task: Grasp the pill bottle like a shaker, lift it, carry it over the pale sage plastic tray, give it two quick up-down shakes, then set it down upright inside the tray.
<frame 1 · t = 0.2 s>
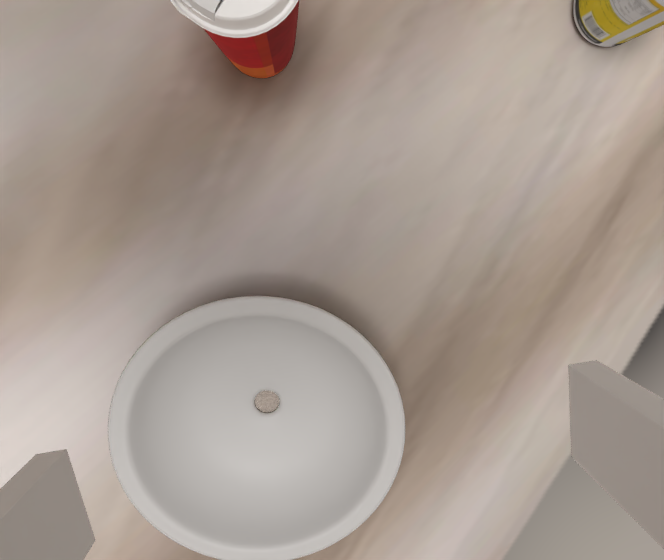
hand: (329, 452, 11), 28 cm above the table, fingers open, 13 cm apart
paper cup: (259, 43, 34), on the table
pill bottle: (604, 8, 35), on the table
soup bowl: (267, 399, 41), on the table
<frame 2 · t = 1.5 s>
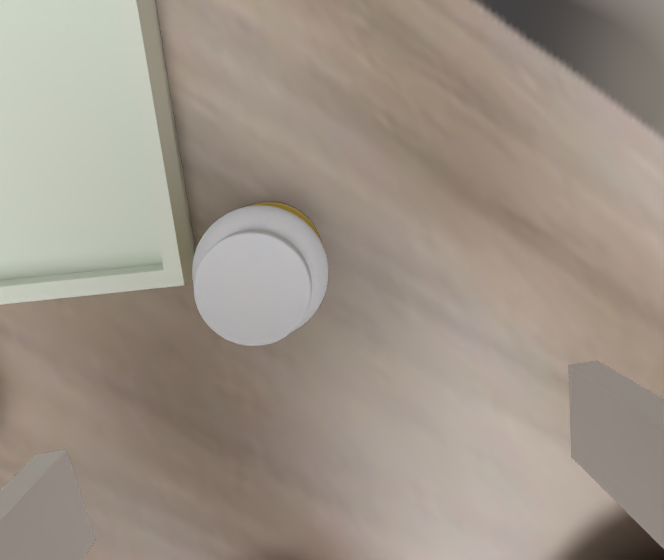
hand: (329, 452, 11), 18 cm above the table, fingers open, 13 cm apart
tray: (26, 144, 26), on the table
pill bottle: (273, 250, 28), on the table
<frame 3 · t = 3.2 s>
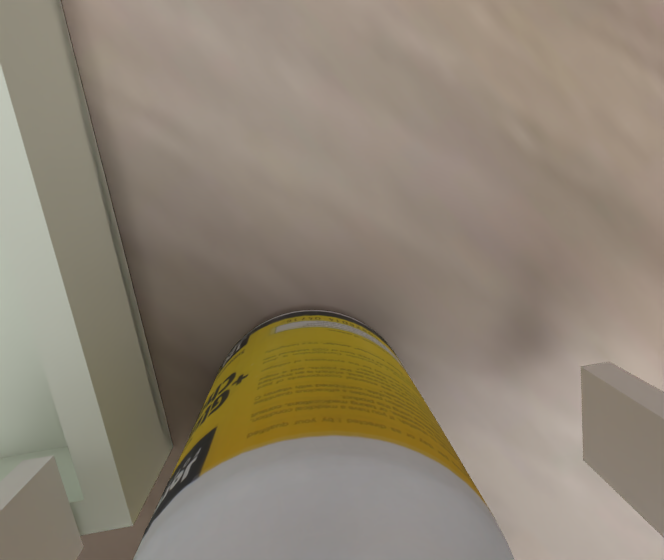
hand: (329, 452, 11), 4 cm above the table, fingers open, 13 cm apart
pill bottle: (311, 392, 15), on the table
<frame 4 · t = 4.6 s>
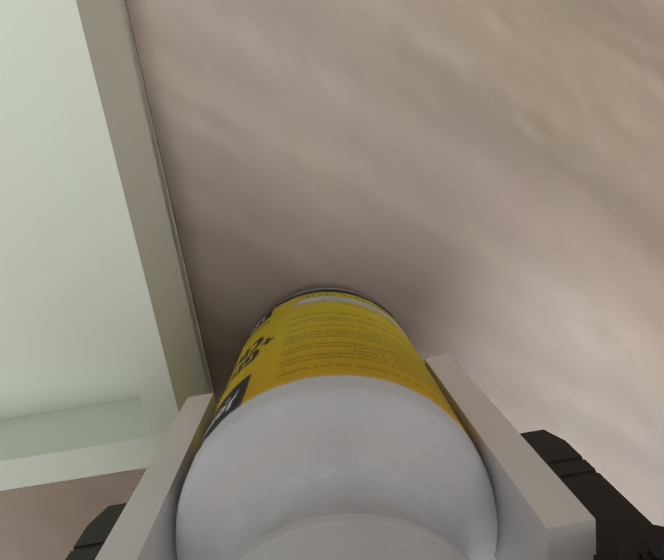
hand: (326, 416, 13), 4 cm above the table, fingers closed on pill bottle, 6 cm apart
pill bottle: (326, 362, 17), on the table, touching gripper
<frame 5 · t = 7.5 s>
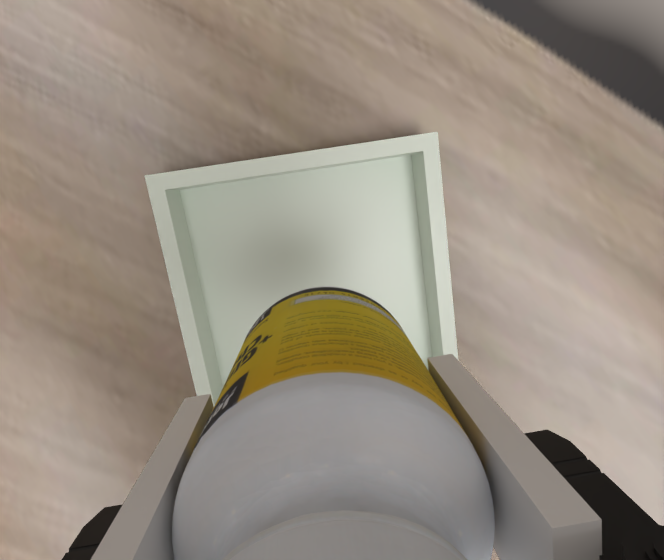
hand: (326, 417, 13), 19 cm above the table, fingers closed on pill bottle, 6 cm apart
tray: (314, 283, 31), on the table
pill bottle: (325, 361, 17), point 15 cm above the table, touching gripper
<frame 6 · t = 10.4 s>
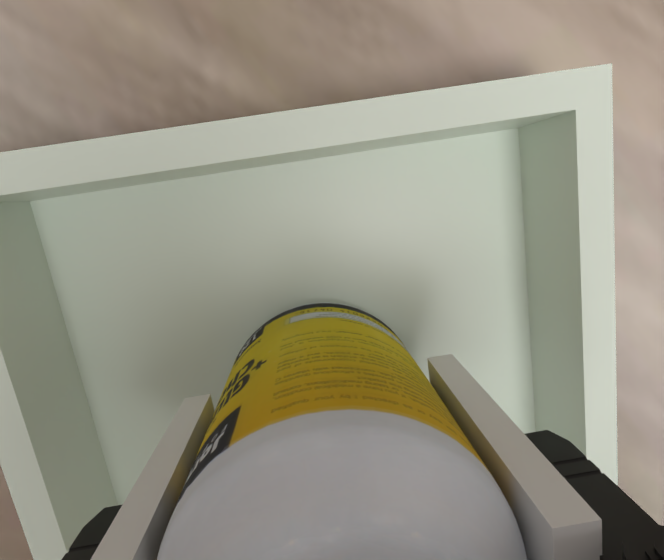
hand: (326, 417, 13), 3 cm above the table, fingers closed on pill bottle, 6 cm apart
tray: (316, 382, 16), on the table
pill bottle: (322, 382, 15), resting on tray, touching gripper
when the fingers open (3 cm above the table, at t = 10.9 s): pill bottle stays where it is, resting on tray.
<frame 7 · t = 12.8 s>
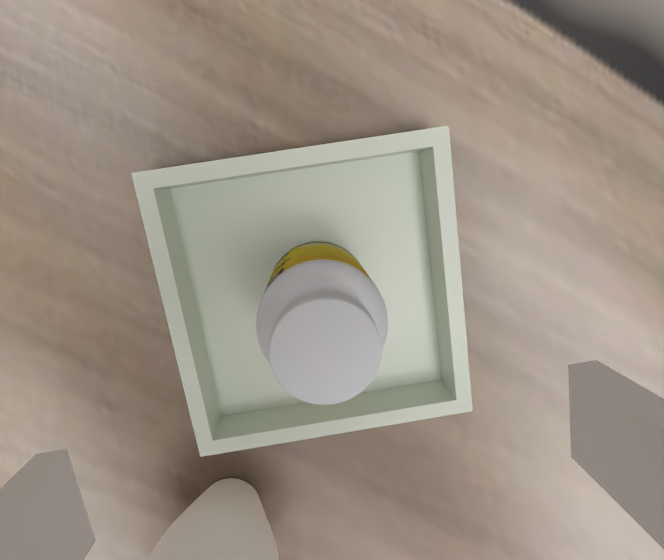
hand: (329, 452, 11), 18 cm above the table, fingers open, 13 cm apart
tray: (315, 288, 29), on the table
mug: (221, 519, 33), on the table
pill bottle: (317, 287, 29), resting on tray
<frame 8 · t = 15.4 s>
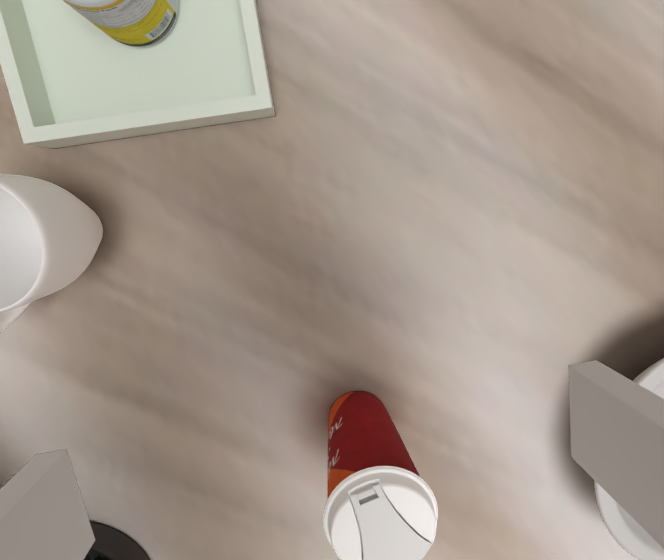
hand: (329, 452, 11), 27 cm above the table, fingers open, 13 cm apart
tray: (137, 9, 32), on the table
mug: (69, 248, 36), on the table
paper cup: (357, 416, 41), on the table
pill bottle: (138, 4, 32), resting on tray
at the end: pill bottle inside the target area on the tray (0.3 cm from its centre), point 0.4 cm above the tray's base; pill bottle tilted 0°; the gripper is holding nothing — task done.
